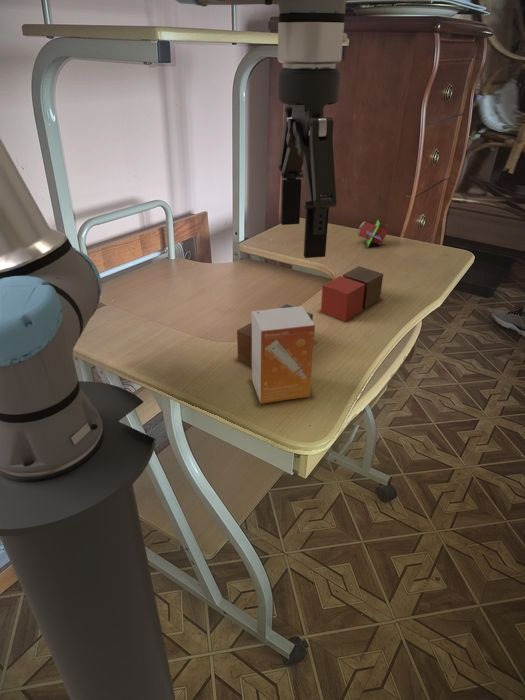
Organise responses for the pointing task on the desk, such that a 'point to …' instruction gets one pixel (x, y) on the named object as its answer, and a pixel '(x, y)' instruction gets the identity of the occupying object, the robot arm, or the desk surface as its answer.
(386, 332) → the desk surface
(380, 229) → the geometric puzzle
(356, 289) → the cube
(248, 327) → the cube
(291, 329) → the small box
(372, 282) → the cube
